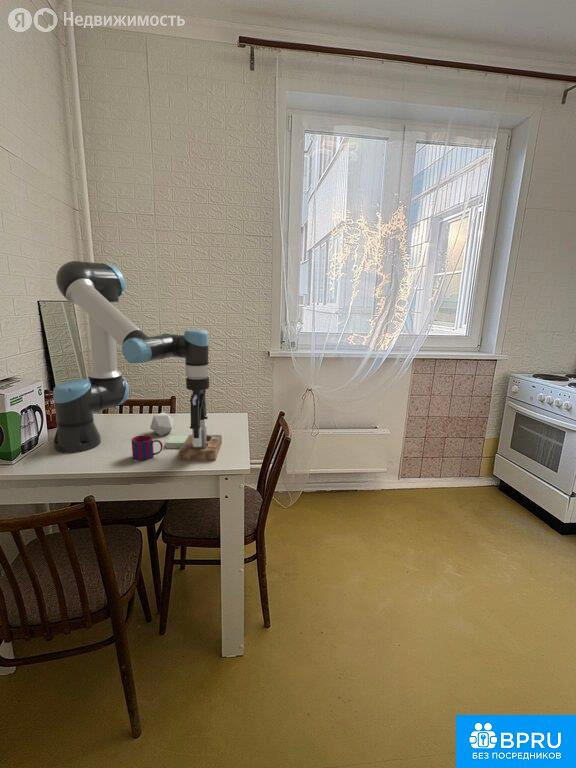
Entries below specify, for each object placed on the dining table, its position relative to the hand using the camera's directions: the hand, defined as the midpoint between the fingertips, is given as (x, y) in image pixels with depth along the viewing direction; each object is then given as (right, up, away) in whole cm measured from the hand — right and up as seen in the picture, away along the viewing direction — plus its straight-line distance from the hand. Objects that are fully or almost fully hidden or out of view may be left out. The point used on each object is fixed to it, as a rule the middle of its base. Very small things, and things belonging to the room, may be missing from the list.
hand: (199, 441), depth 132 cm
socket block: (0, -4, +5) cm, 6 cm away
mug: (-17, -5, -1) cm, 18 cm away
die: (-20, 0, +22) cm, 29 cm away
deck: (-10, -3, +11) cm, 15 cm away
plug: (0, -5, +1) cm, 5 cm away
